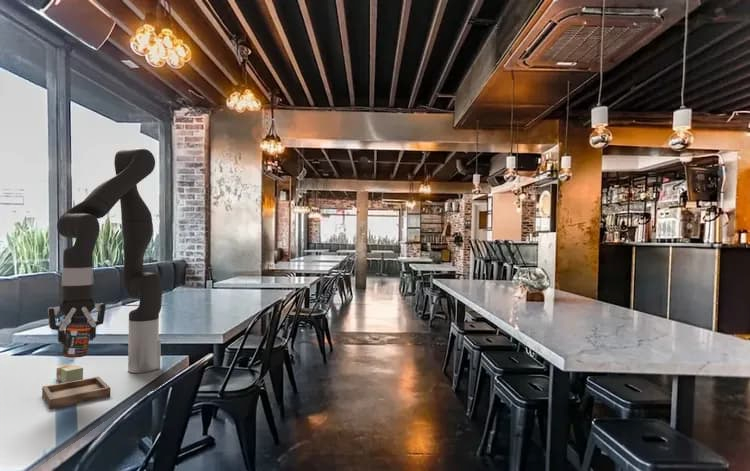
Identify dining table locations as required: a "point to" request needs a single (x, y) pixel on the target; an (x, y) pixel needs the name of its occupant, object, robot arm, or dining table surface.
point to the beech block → (62, 367)
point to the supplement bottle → (76, 337)
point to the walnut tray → (75, 392)
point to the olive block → (71, 374)
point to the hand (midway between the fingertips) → (76, 341)
